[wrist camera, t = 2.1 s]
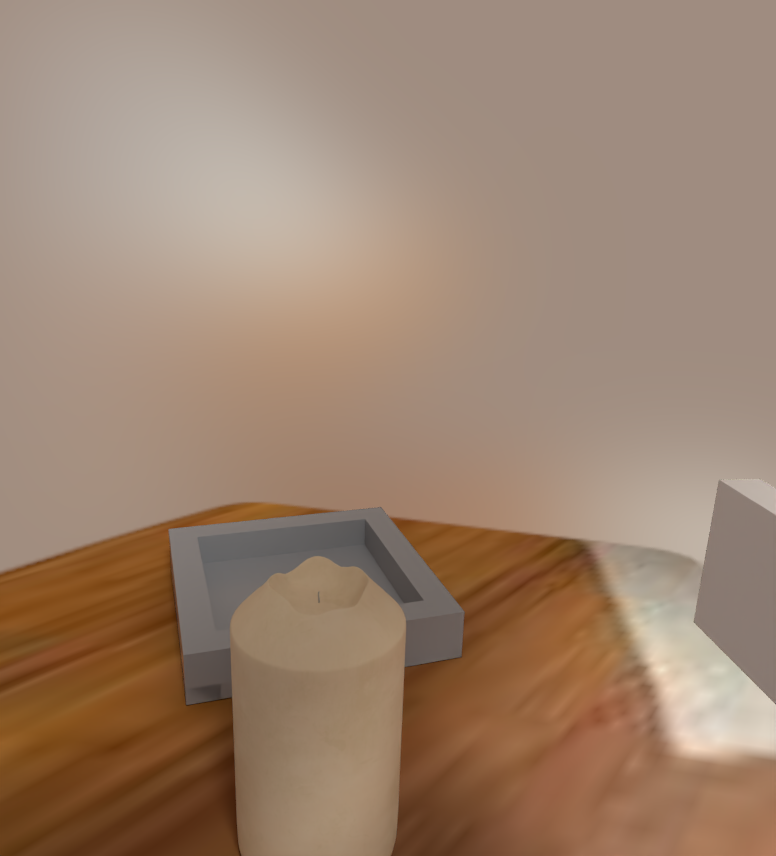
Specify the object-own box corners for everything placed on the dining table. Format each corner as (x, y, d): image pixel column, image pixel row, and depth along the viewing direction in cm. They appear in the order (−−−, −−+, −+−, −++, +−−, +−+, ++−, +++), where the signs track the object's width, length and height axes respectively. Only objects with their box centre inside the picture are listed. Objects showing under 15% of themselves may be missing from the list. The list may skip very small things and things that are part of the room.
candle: (229, 911, 23) (217, 629, 20) (244, 779, 28) (237, 539, 25) (406, 900, 24) (419, 623, 21) (388, 772, 29) (397, 537, 26)
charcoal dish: (380, 542, 48) (381, 507, 47) (461, 656, 36) (464, 611, 35) (170, 567, 44) (168, 529, 43) (186, 704, 32) (183, 655, 31)
